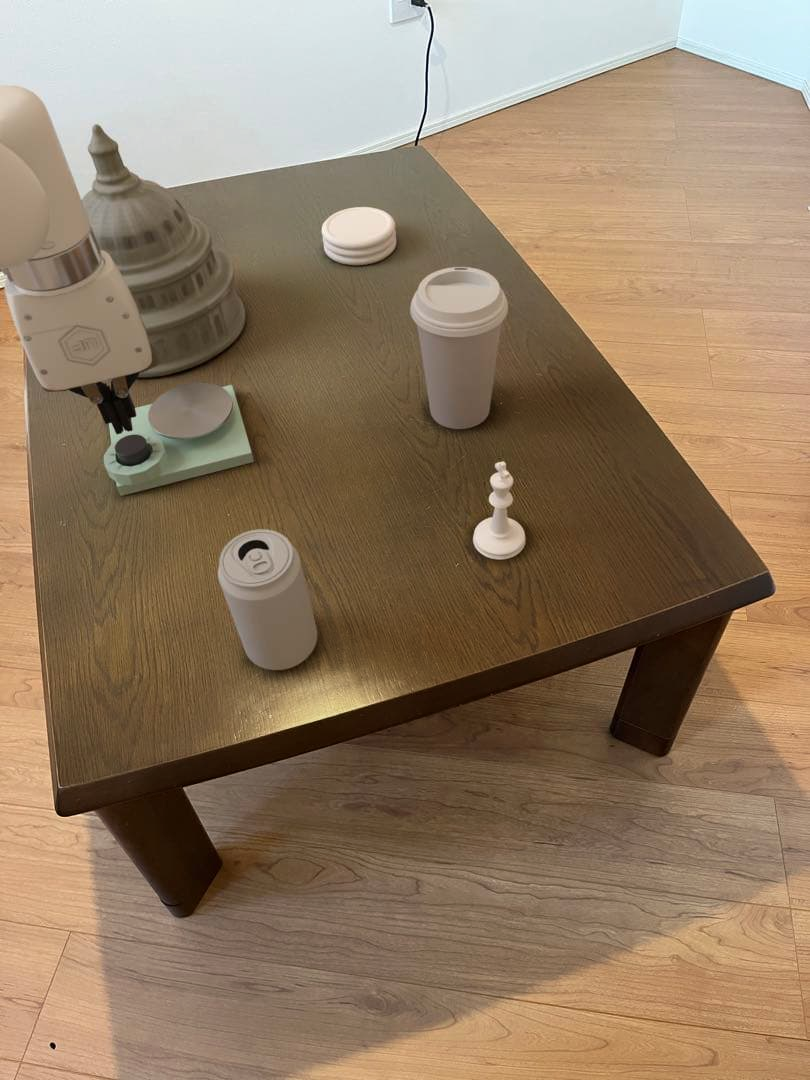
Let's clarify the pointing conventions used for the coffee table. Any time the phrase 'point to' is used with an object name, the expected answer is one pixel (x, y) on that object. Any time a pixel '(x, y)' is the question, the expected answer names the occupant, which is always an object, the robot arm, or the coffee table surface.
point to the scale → (179, 452)
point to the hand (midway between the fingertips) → (123, 423)
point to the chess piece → (499, 521)
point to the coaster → (359, 236)
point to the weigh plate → (190, 410)
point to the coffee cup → (459, 342)
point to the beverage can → (268, 598)
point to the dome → (163, 263)
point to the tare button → (132, 450)
